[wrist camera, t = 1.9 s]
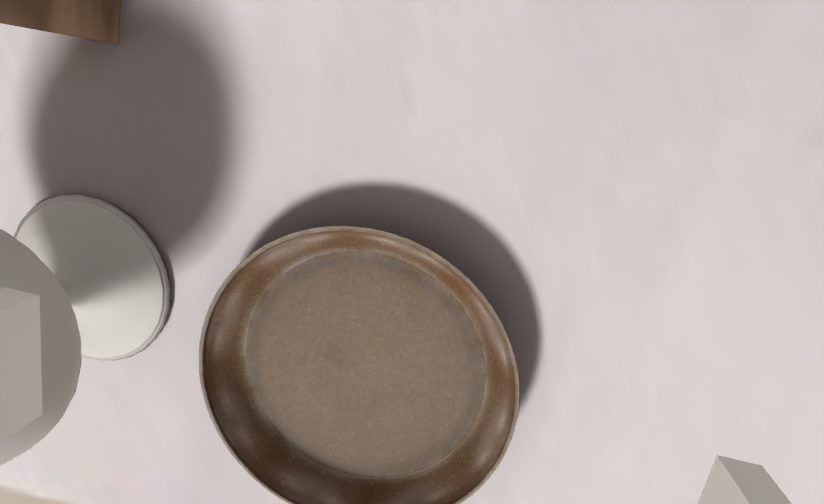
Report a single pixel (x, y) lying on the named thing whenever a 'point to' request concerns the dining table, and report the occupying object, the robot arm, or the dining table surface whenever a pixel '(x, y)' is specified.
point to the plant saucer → (358, 371)
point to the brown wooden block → (66, 17)
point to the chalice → (82, 295)
